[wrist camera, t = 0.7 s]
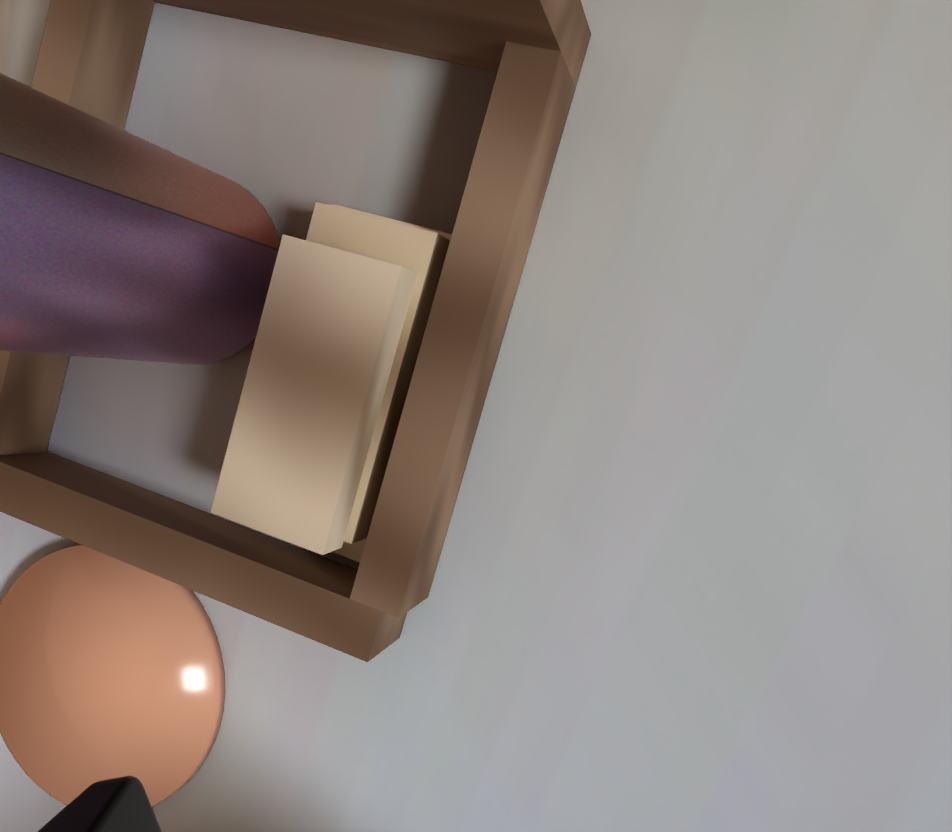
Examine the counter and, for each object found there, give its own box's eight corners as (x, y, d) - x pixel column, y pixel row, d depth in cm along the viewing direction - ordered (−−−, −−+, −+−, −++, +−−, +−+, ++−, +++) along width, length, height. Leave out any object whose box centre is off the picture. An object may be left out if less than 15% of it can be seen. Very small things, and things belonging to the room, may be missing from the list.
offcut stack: (377, 556, 26) (326, 579, 22) (267, 515, 27) (202, 531, 23) (466, 242, 25) (426, 216, 22) (348, 212, 26) (292, 182, 23)
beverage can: (305, 350, 26) (-194, 287, 12) (143, 377, 28) (-471, 351, 13) (281, 162, 26) (-242, -130, 12) (121, 200, 28) (-511, -16, 13)
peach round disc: (186, 850, 28) (175, 860, 27) (-24, 744, 30) (-39, 751, 29) (254, 595, 27) (245, 600, 26) (33, 506, 29) (19, 508, 28)
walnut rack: (414, 643, 25) (261, 769, 17) (2, 479, 29) (-294, 512, 21) (591, 34, 24) (523, -180, 15) (127, -52, 28) (-138, -260, 19)
